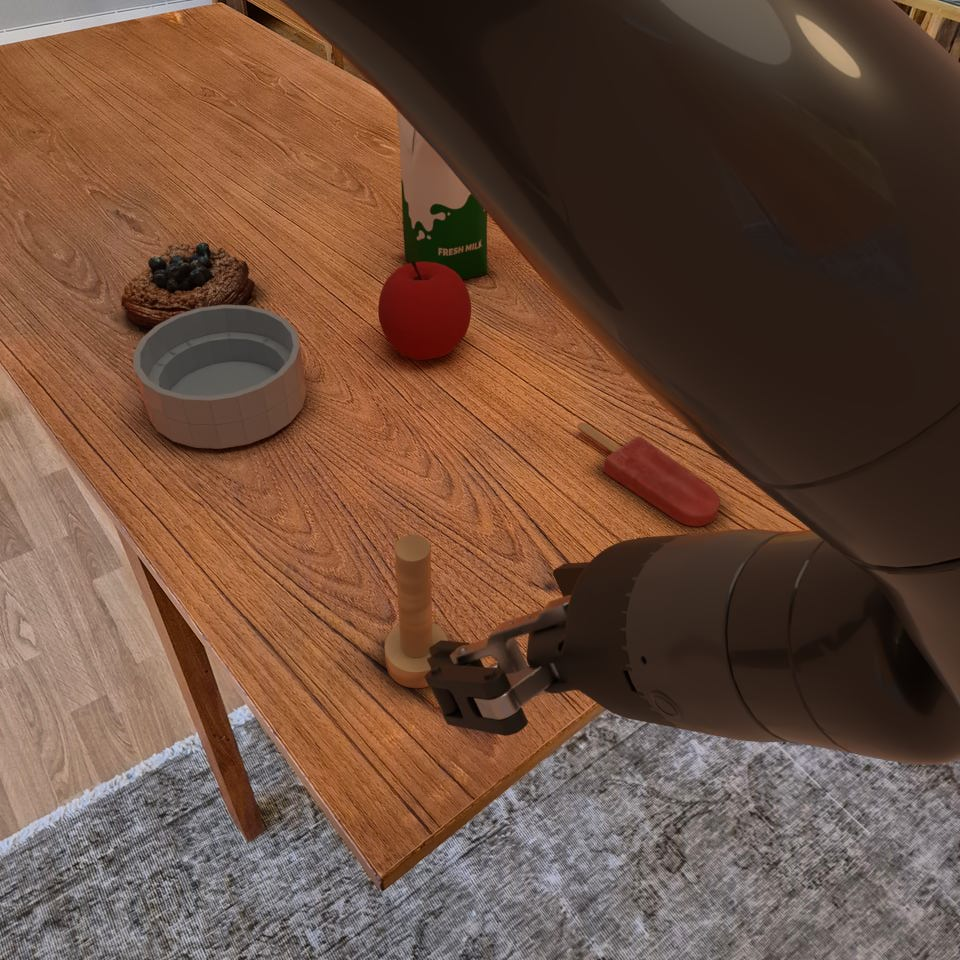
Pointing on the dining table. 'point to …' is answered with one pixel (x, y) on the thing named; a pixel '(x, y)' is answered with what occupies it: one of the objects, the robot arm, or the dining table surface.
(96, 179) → the dining table surface
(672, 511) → the popsicle
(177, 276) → the pastry
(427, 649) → the peg on round base
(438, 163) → the milk carton
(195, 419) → the bowl
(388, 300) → the apple
